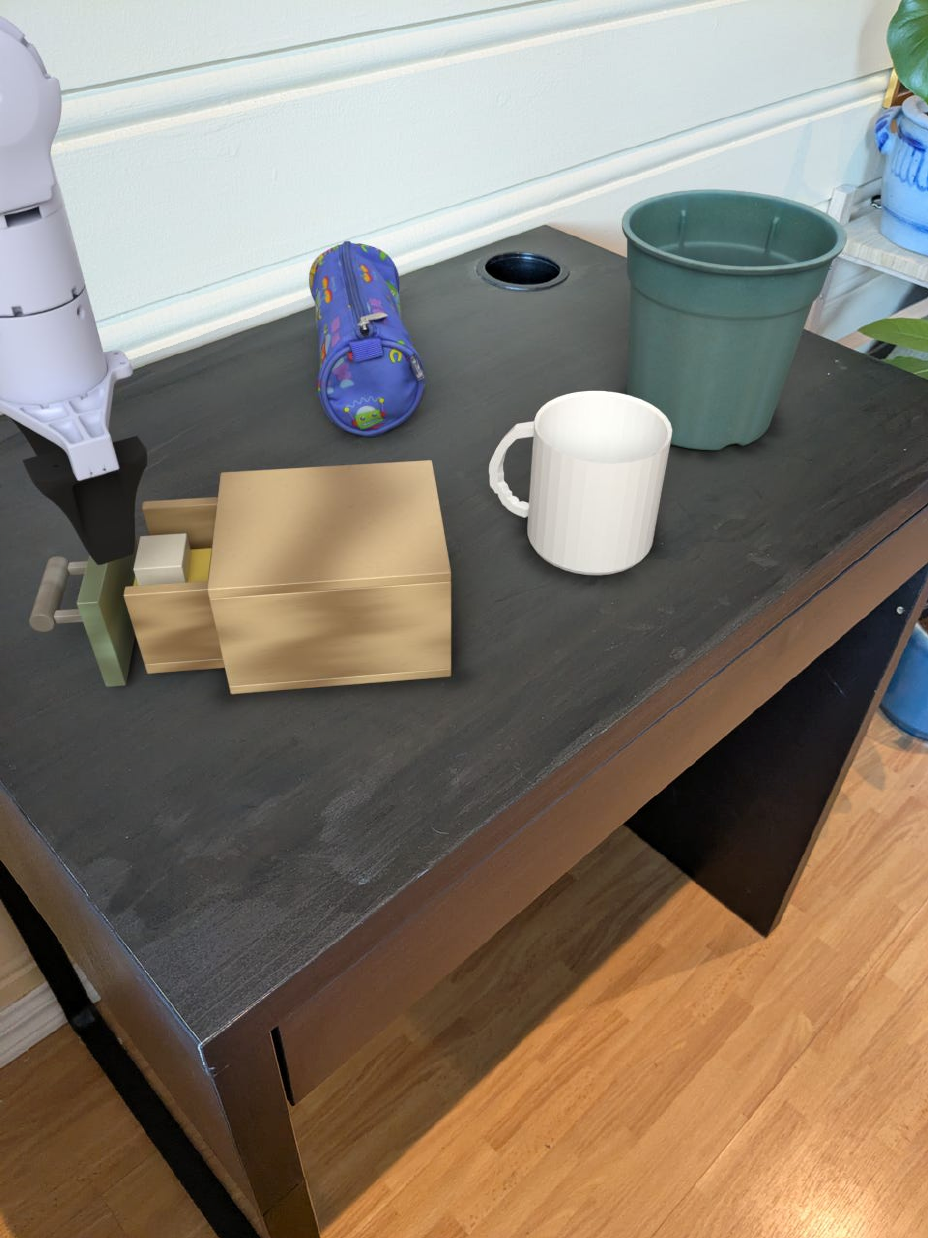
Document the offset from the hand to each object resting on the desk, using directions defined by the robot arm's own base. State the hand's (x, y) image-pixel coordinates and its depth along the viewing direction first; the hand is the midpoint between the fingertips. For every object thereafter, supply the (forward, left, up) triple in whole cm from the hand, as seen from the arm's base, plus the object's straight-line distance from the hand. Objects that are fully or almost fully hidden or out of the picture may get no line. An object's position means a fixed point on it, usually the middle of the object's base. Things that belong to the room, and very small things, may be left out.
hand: (94, 520), depth 55 cm
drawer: (+4, 0, -9) cm, 9 cm away
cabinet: (+13, 0, -9) cm, 16 cm away
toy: (+4, 0, -8) cm, 8 cm away
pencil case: (+16, +32, -10) cm, 37 cm away
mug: (+30, +8, -10) cm, 33 cm away
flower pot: (+44, +23, -10) cm, 51 cm away
